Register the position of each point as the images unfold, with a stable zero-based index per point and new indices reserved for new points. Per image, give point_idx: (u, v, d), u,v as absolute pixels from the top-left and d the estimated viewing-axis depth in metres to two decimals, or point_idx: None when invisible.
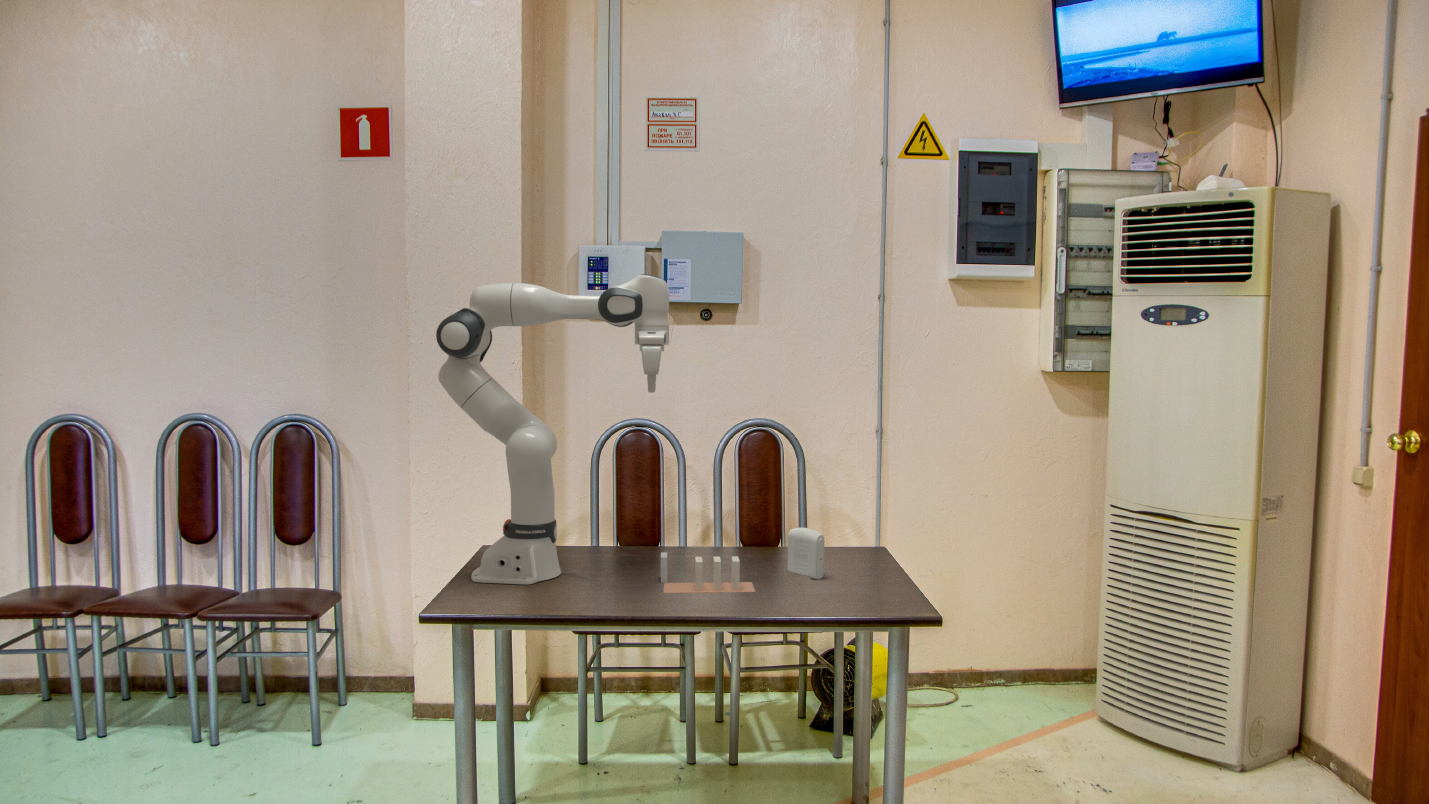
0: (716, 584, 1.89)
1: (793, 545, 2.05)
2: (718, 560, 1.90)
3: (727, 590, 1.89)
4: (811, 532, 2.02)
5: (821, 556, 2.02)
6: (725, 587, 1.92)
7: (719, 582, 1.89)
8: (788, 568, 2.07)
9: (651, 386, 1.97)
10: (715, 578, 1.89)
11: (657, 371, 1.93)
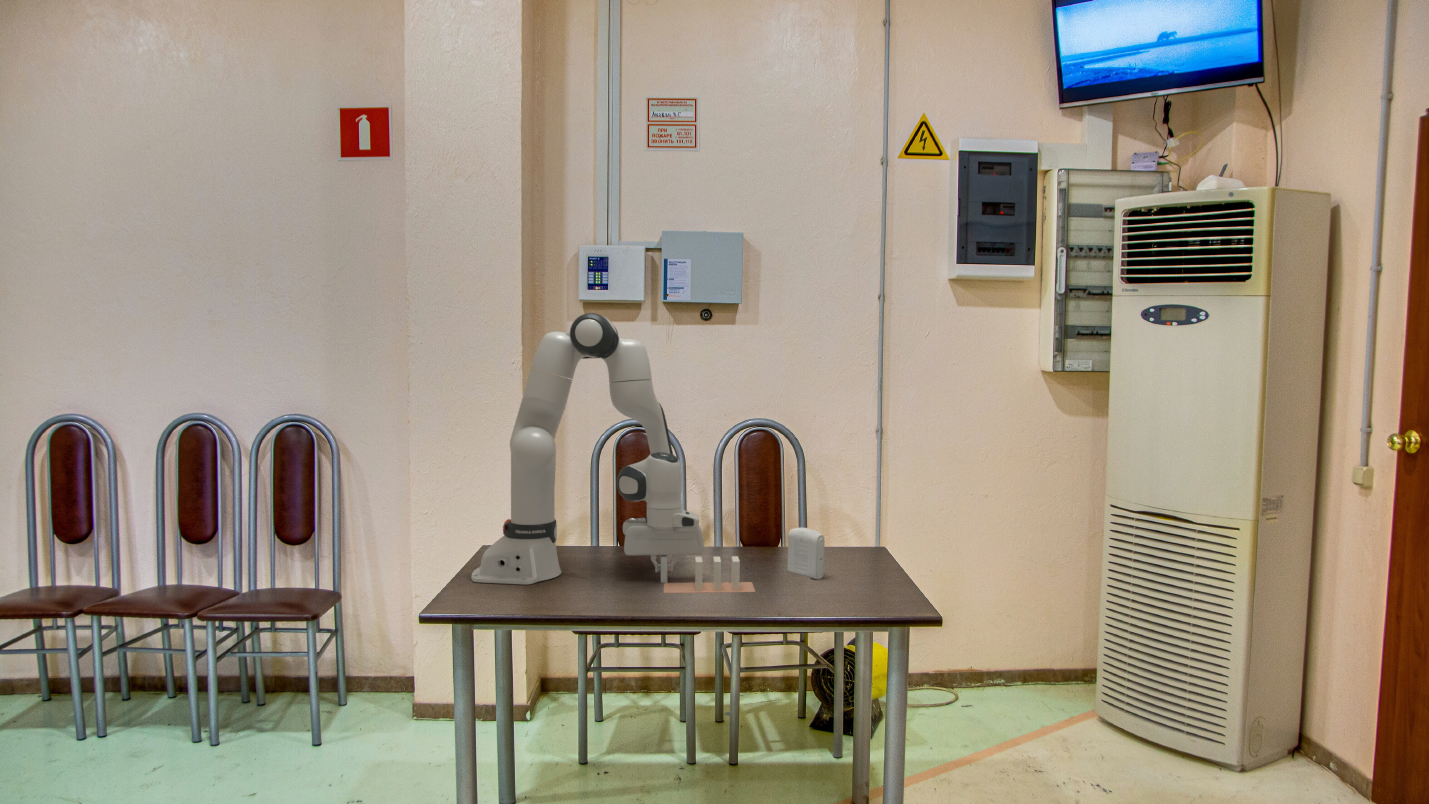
0: (716, 584, 1.89)
1: (793, 545, 2.05)
2: (718, 560, 1.90)
3: (727, 590, 1.89)
4: (811, 532, 2.02)
5: (821, 556, 2.02)
6: (725, 587, 1.92)
7: (719, 582, 1.89)
8: (788, 568, 2.07)
9: (672, 565, 1.98)
10: (715, 578, 1.89)
11: None
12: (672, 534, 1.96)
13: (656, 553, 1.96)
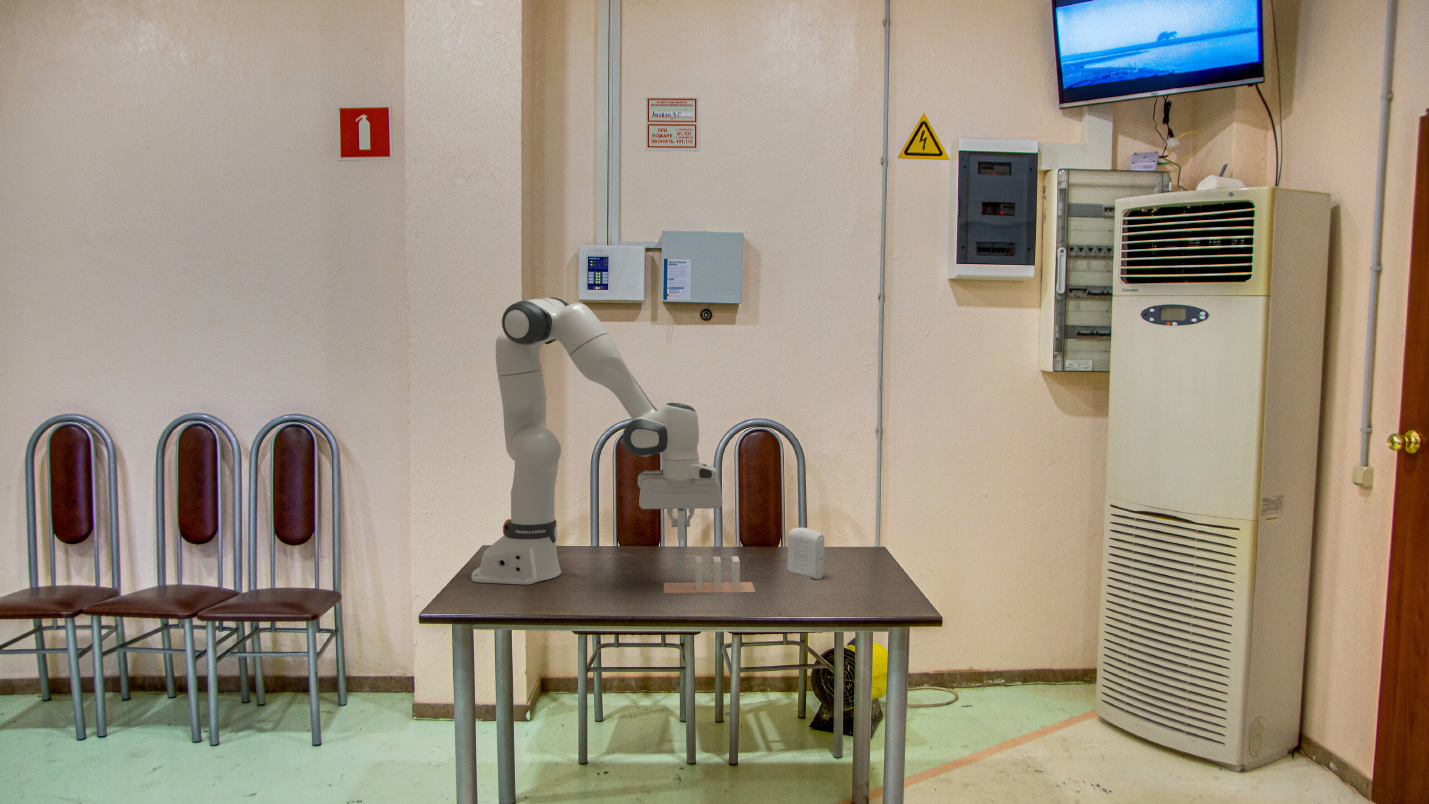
0: (716, 584, 1.89)
1: (793, 545, 2.05)
2: (718, 560, 1.90)
3: (727, 590, 1.89)
4: (811, 532, 2.02)
5: (821, 556, 2.02)
6: (725, 587, 1.92)
7: (719, 582, 1.89)
8: (788, 568, 2.07)
9: (689, 520, 1.90)
10: (715, 578, 1.89)
11: None
12: (689, 487, 1.88)
13: (672, 507, 1.88)
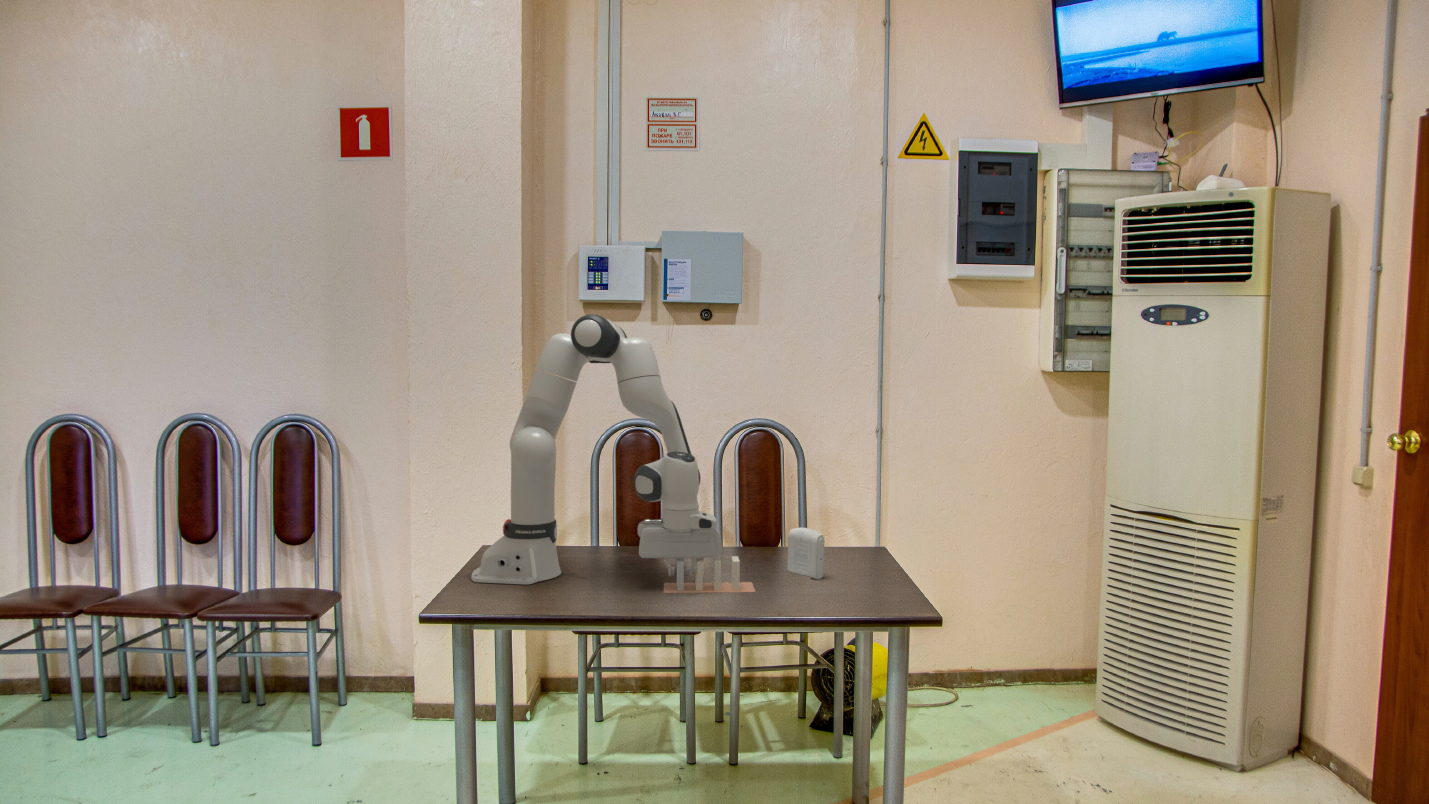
0: (716, 584, 1.89)
1: (793, 545, 2.05)
2: (718, 560, 1.90)
3: (727, 590, 1.89)
4: (811, 532, 2.02)
5: (821, 556, 2.02)
6: (725, 587, 1.92)
7: (719, 582, 1.89)
8: (788, 568, 2.07)
9: (692, 568, 1.91)
10: (715, 578, 1.89)
11: None
12: (689, 536, 1.89)
13: (672, 556, 1.89)
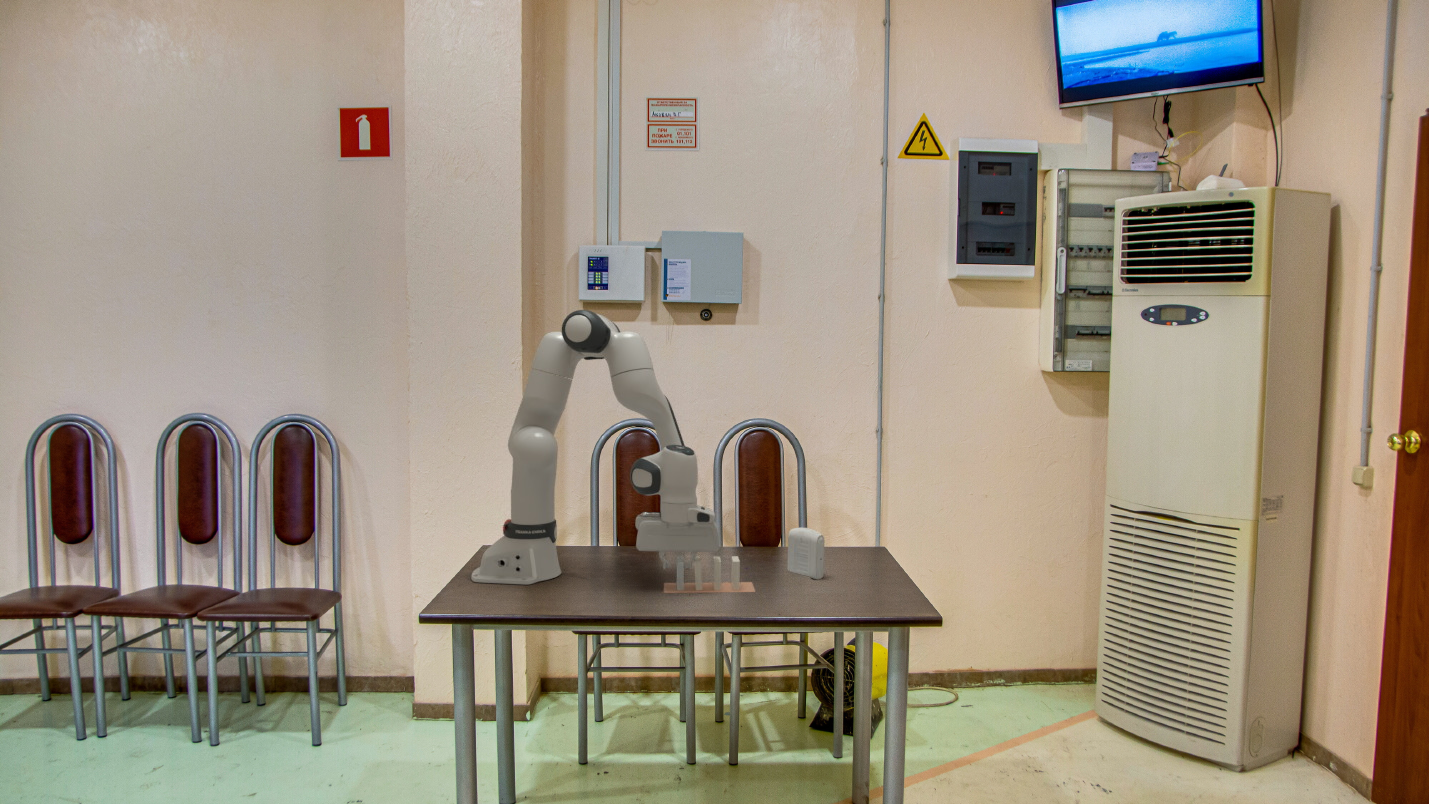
0: (716, 584, 1.89)
1: (793, 545, 2.05)
2: (718, 560, 1.90)
3: (727, 590, 1.89)
4: (811, 532, 2.02)
5: (821, 556, 2.02)
6: (725, 587, 1.92)
7: (719, 582, 1.89)
8: (788, 568, 2.07)
9: (691, 562, 1.90)
10: (715, 578, 1.89)
11: None
12: (686, 530, 1.88)
13: (669, 549, 1.88)
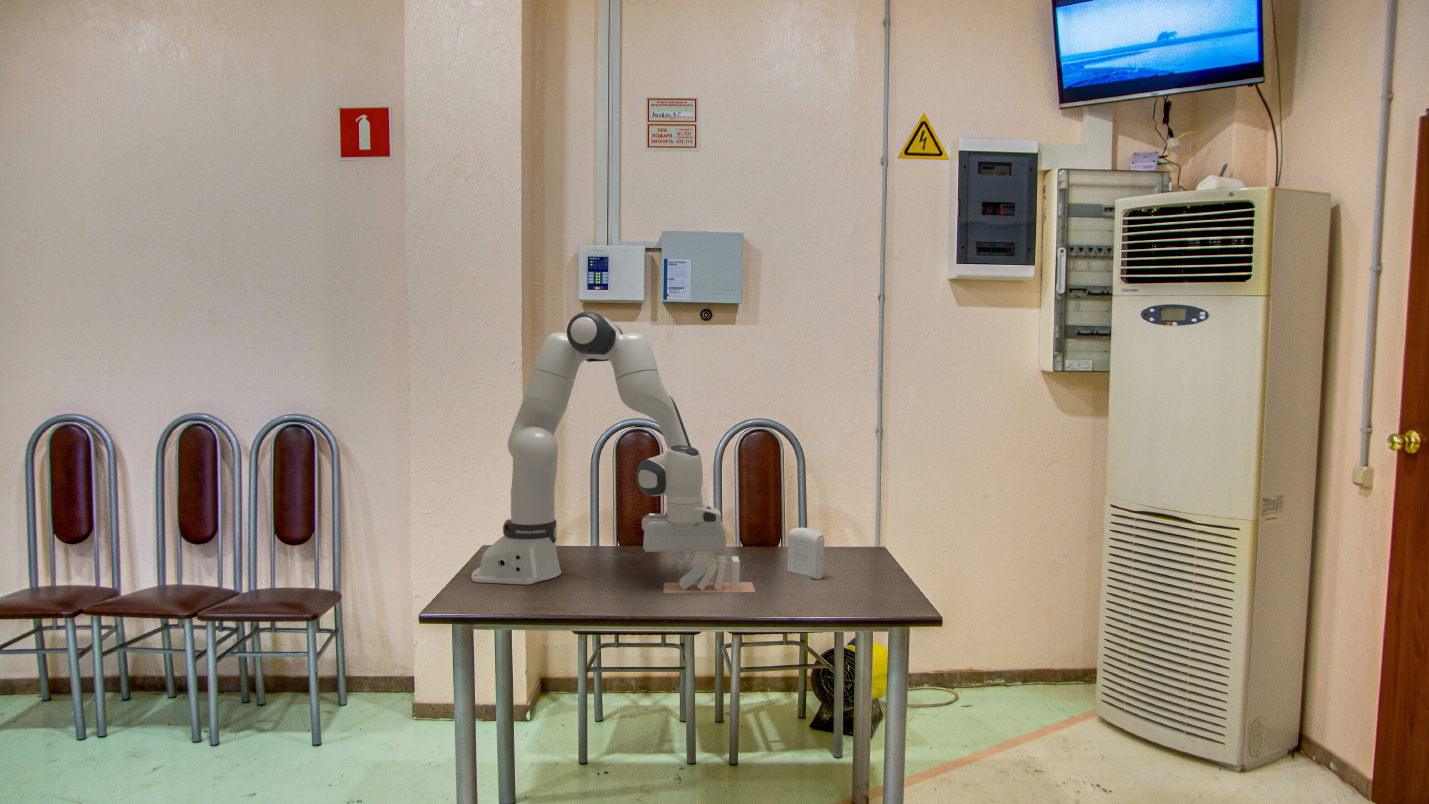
0: (717, 583, 1.89)
1: (793, 545, 2.05)
2: (723, 560, 1.90)
3: (727, 590, 1.89)
4: (811, 532, 2.02)
5: (821, 556, 2.02)
6: (725, 587, 1.92)
7: (720, 582, 1.89)
8: (788, 568, 2.07)
9: (690, 562, 1.91)
10: (717, 577, 1.89)
11: None
12: (693, 530, 1.89)
13: (676, 549, 1.89)
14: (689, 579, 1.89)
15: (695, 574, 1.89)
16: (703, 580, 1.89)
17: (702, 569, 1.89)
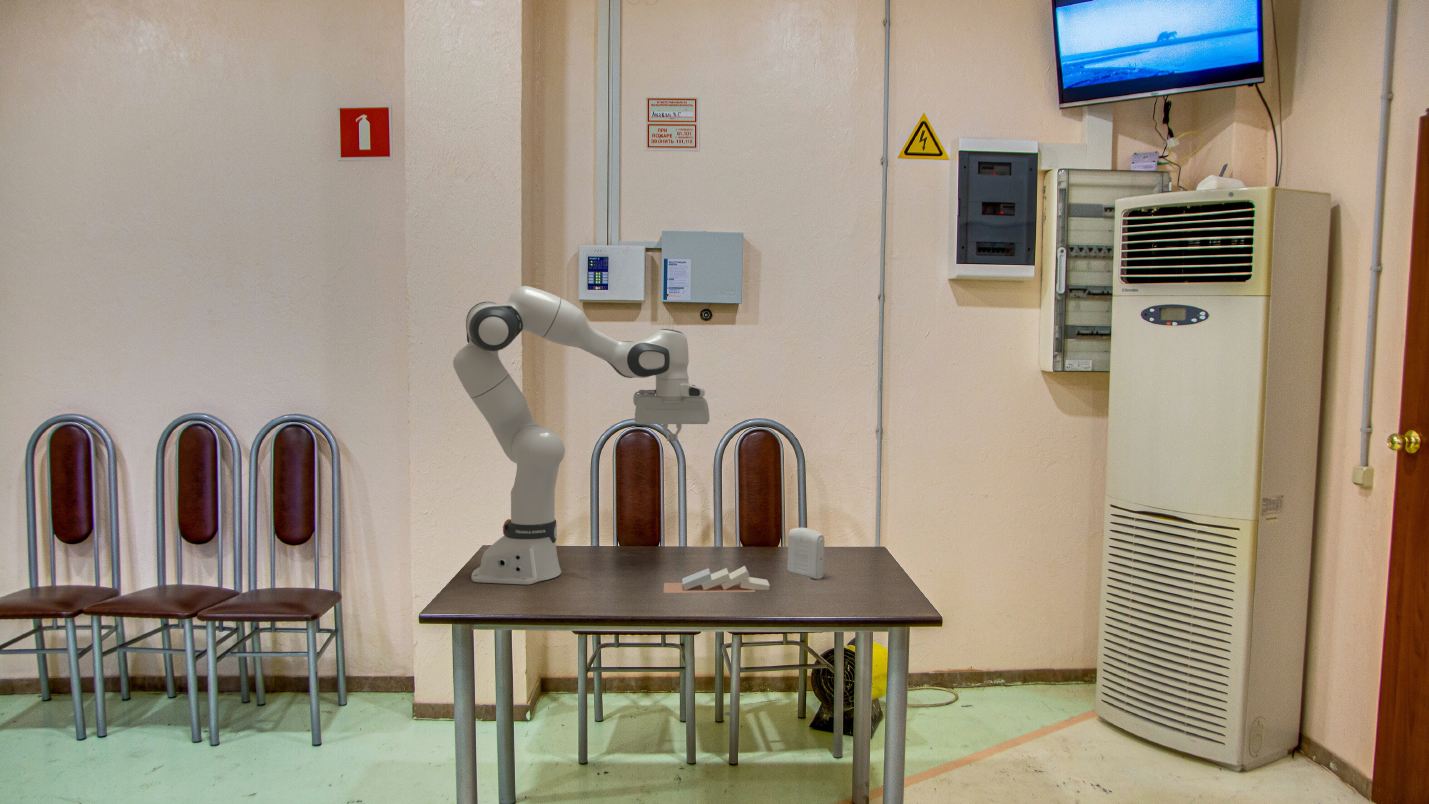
0: (727, 583, 1.90)
1: (793, 545, 2.05)
2: None
3: (727, 590, 1.89)
4: (811, 532, 2.02)
5: (821, 556, 2.02)
6: None
7: (730, 585, 1.90)
8: (788, 568, 2.07)
9: None
10: (732, 579, 1.90)
11: None
12: (679, 404, 2.10)
13: (665, 422, 2.10)
14: (693, 581, 1.89)
15: (700, 578, 1.89)
16: (710, 582, 1.89)
17: (708, 575, 1.89)
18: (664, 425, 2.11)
